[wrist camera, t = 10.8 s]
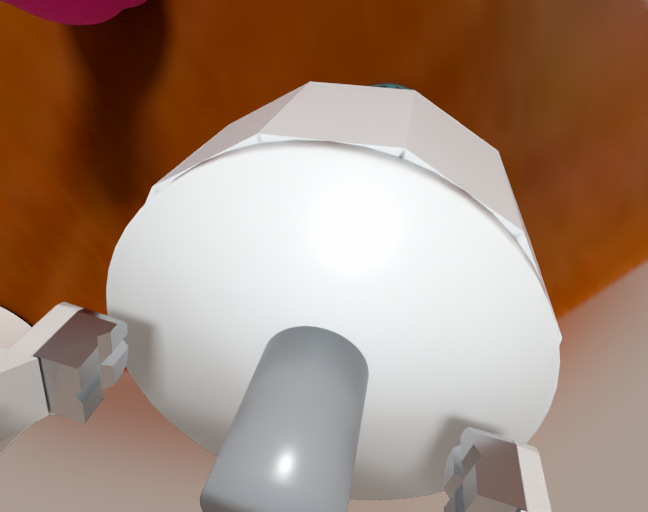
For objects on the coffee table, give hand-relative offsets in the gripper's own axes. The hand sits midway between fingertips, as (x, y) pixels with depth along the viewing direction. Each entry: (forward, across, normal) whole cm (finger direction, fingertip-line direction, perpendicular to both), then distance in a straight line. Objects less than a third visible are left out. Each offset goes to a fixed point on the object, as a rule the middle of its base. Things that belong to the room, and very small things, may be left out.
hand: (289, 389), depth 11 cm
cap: (+7, 0, 0) cm, 7 cm away
